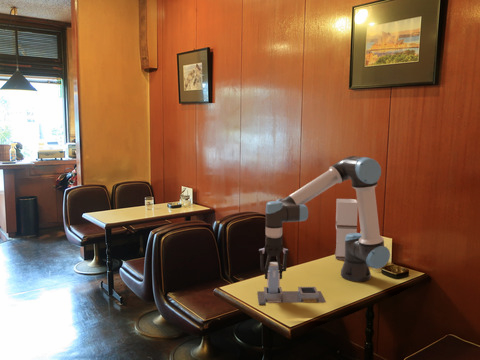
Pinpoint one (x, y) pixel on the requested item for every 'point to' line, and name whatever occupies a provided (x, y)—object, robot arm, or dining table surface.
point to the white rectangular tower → (345, 223)
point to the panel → (290, 296)
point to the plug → (273, 277)
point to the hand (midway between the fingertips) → (273, 285)
